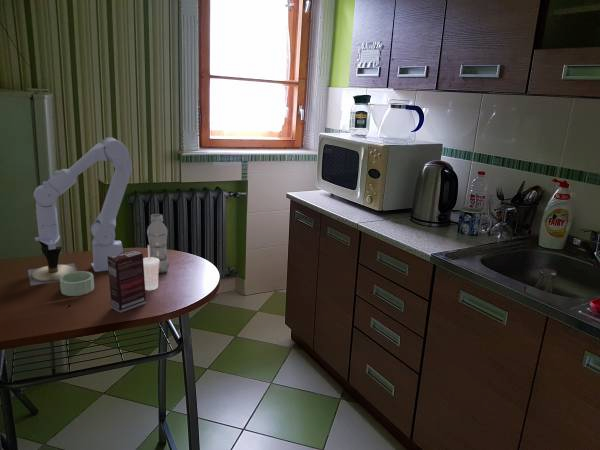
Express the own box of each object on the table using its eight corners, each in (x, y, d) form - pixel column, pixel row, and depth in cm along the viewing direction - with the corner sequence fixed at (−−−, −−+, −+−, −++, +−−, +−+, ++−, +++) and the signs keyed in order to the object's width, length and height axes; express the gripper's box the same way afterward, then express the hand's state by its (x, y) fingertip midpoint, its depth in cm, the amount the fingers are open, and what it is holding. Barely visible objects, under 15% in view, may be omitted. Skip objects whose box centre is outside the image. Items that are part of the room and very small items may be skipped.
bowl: (91, 282, 149) (90, 269, 148) (96, 293, 142) (95, 279, 141) (59, 287, 145) (58, 274, 143) (63, 299, 137) (61, 285, 136)
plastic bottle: (166, 276, 157) (164, 218, 151) (146, 274, 157) (143, 217, 151) (171, 268, 163) (169, 213, 157) (152, 267, 163) (149, 212, 158)
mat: (73, 264, 163) (73, 263, 163) (80, 278, 152) (80, 277, 152) (27, 271, 155) (27, 269, 155) (30, 286, 144) (30, 285, 144)
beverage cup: (160, 282, 152) (158, 241, 148) (160, 290, 146) (159, 248, 142) (140, 284, 150) (138, 242, 146) (140, 292, 145) (137, 249, 140)
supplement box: (137, 298, 140) (134, 248, 136) (146, 303, 137) (144, 253, 133) (110, 308, 134) (106, 255, 129) (119, 313, 131) (115, 260, 126)
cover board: (71, 264, 161) (69, 252, 160) (76, 277, 152) (75, 264, 151) (31, 270, 155) (29, 257, 154) (34, 283, 145) (32, 270, 144)
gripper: (31, 218, 152) (36, 258, 156) (35, 231, 141) (40, 273, 144) (55, 216, 156) (59, 255, 160) (61, 228, 144) (65, 269, 148)
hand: (52, 263), depth 152 cm, fingers open, 7 cm apart
